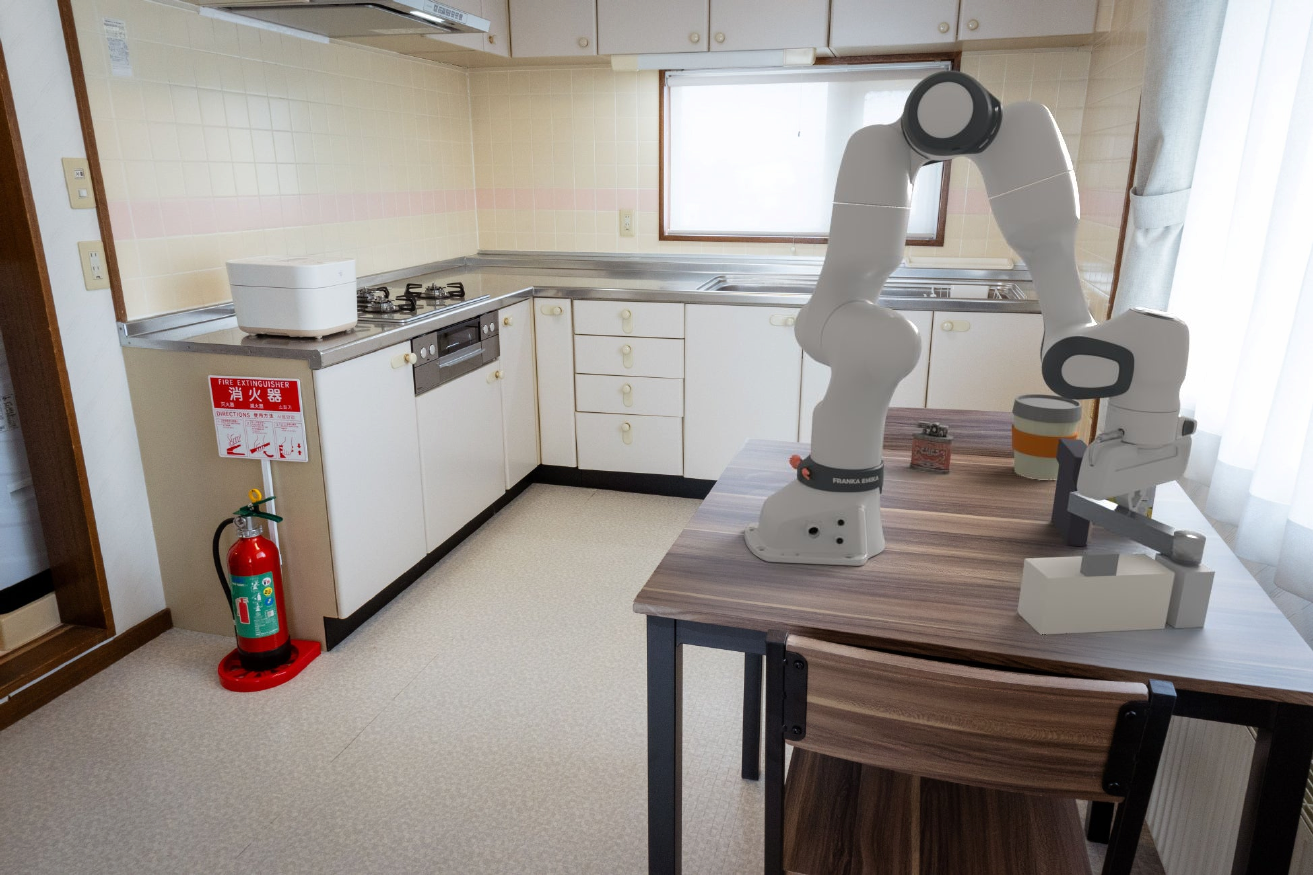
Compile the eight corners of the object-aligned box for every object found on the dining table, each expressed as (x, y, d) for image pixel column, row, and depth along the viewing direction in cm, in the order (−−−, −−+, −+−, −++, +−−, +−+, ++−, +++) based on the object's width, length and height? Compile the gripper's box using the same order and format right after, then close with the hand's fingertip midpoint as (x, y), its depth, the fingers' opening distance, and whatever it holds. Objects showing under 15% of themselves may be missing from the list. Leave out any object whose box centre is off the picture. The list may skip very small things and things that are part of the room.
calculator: (1091, 547, 137) (1105, 458, 133) (1062, 545, 138) (1075, 457, 134) (1073, 522, 148) (1086, 439, 143) (1047, 520, 148) (1058, 437, 144)
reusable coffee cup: (1004, 460, 180) (1013, 391, 176) (1070, 467, 176) (1081, 396, 172) (1004, 479, 169) (1013, 405, 165) (1074, 487, 165) (1086, 411, 160)
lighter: (951, 471, 174) (956, 423, 171) (947, 475, 171) (952, 427, 168) (912, 464, 178) (916, 418, 175) (907, 468, 175) (911, 421, 172)
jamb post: (1175, 628, 112) (1185, 572, 110) (1146, 606, 118) (1155, 553, 116) (1203, 626, 113) (1215, 571, 111) (1173, 605, 119) (1183, 552, 116)
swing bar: (1207, 562, 112) (1212, 538, 111) (1187, 566, 111) (1192, 542, 110) (1082, 508, 131) (1086, 487, 130) (1064, 511, 130) (1067, 490, 129)
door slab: (1040, 634, 111) (1051, 556, 108) (1017, 612, 117) (1027, 537, 113) (1164, 628, 112) (1179, 551, 109) (1135, 607, 118) (1148, 533, 115)
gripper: (1114, 440, 113) (1100, 538, 117) (1205, 420, 122) (1189, 511, 126) (1072, 429, 118) (1059, 523, 122) (1161, 411, 128) (1147, 498, 131)
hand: (1126, 517), depth 124 cm, fingers closed
